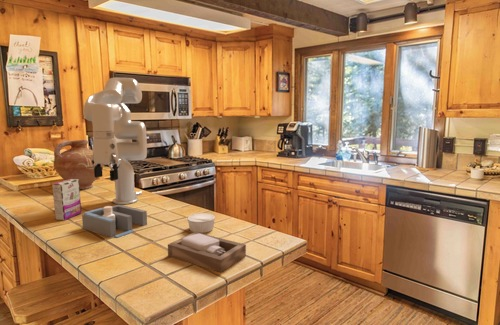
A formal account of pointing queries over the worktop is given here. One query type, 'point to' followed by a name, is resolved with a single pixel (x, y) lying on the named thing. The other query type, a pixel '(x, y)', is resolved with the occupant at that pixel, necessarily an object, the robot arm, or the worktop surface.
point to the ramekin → (201, 222)
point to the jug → (75, 162)
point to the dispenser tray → (209, 254)
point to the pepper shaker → (108, 212)
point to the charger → (203, 244)
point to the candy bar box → (66, 199)
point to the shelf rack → (114, 220)
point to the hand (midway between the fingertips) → (106, 178)
